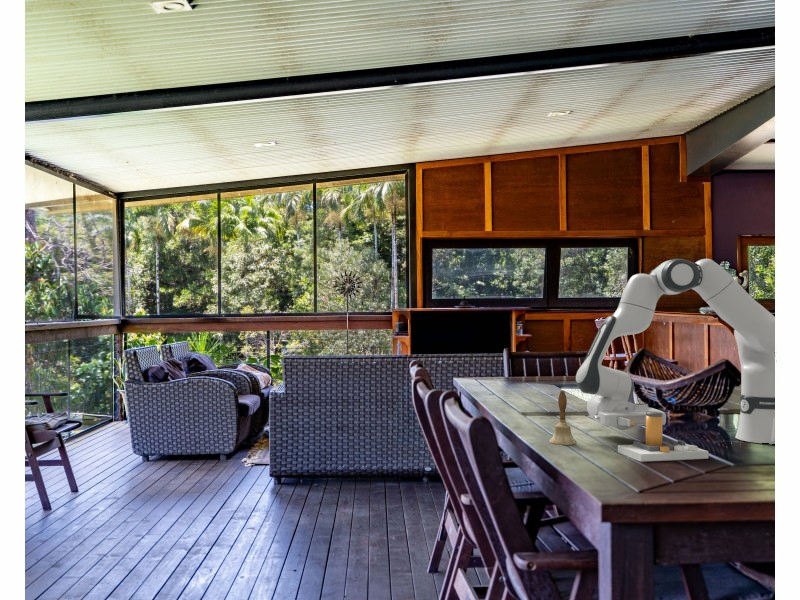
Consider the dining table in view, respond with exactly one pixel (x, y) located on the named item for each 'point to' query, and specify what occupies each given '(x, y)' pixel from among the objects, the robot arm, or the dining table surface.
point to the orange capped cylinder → (654, 428)
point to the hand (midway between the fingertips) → (646, 422)
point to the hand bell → (562, 425)
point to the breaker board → (662, 451)
